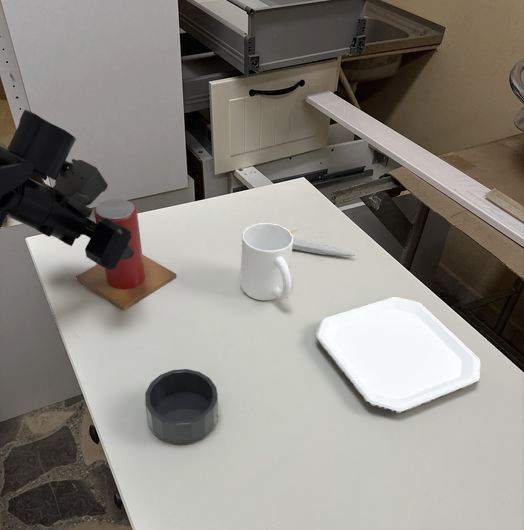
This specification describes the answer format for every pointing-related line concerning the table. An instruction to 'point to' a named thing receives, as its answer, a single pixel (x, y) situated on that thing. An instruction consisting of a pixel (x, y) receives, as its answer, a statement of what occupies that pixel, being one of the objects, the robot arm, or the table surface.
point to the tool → (319, 248)
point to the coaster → (127, 297)
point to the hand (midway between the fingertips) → (112, 242)
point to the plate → (398, 353)
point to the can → (132, 268)
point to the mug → (266, 261)
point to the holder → (181, 406)
